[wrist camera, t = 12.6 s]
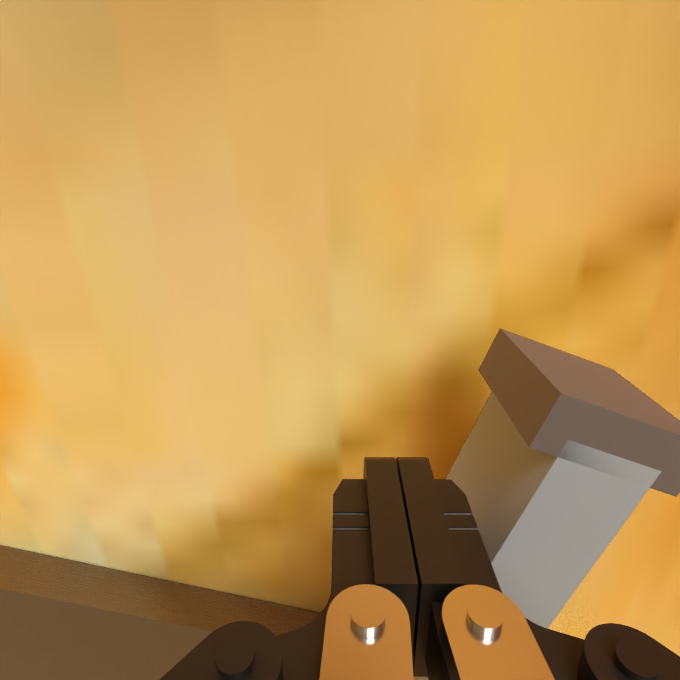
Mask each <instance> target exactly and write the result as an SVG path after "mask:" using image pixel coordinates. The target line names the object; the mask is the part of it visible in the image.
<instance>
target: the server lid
mask: <svg viewBox="0 0 680 680" xmlns="http://www.w3.org/2000/svg"><path fill="white" fill-rule="evenodd" d="M320 614H321V613H319V612H314V611H309V610H304V609H300V608H295V607H290V606H285V605H281V604H276V603H271V602H266V601H262V600H257V599H252V598H247V597H243V596H238V595H233V594H228V593H224V592H219V591H214V590H209V589H205V588H200V587H195V586H190V585H186V584H181V583H176V582H171V581H167V580H162V579H157V578H152V577H148V576H143V575H138V574H133V573H129V572H124V571H119V570H114V569H110V568H105V567H100V566H95V565H91V564H86V563H81V562H76V561H72V560H67V559H62V558H57V557H53V556H48V555H43V554H38V553H34V552H29V551H24V550H19V549H15V548H10V547H5V546H0V680H159V679H161V678H162V677H163V676H164V675H165V674H166V673H167V672H168V671H169V670H170V669H172V668H173V667H174V666H175V665H176V664H177V663H178V662H179V661H180V660H182V659H183V658H184V657H185V656H186V655H187V654H188V653H189V652H190V651H191V650H193V649H194V648H195V647H196V646H197V645H198V644H199V643H200V642H201V641H202V640H204V639H205V638H206V637H207V636H208V635H209V634H211V633H212V632H213V631H214V630H216V629H218V628H220V627H221V626H224V625H226V624H228V623H232V622H237V621H252V622H256V623H259V624H262V625H264V626H265V627H267V628H268V629H270V630H271V631H272V632H273V633H274V635H275V636H277V635H280V634H283V633H286V632H289V631H293V630H296V629H298V628H301V627H303V626H305V625H307V624H308V623H310V622H312V621H313V620H314V619H315V618H317V617H318V616H319V615H320Z"/></svg>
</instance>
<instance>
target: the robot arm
mask: <svg viewBox="0 0 680 680" xmlns="http://www.w3.org/2000/svg"><path fill="white" fill-rule="evenodd" d="M414 677H428V680H680V657H679V656H678V655H676V654H675V653H673V652H672V651H671V650H669V649H668V648H666V647H665V646H663V645H662V644H660V643H659V642H657V641H656V640H654V639H653V638H651V637H650V636H648V635H646V634H645V633H643V632H641V631H639V630H637V629H634V628H631V627H629V626H625V625H621V624H613V623H609V624H602V625H598V626H596V627H594V628H593V629H591V630H590V631H589V632H588V634H587V636H586V638H585V640H583V639H580V638H577V637H573V636H570V635H567V634H563V633H560V632H556V631H553V630H550V629H547V628H544V627H541V626H539V625H537V624H535V623H533V622H532V621H530V620H528V619H527V618H525V617H524V615H523V613H522V612H521V610H520V609H519V608H518V606H517V605H516V604H515V603H514V602H513V601H512V600H511V599H510V598H508V597H507V596H506V595H504V594H503V593H502V591H501V589H500V586H499V583H498V581H497V578H496V575H495V573H494V570H493V567H492V564H491V562H490V559H489V556H488V554H487V551H486V548H485V546H484V543H483V540H482V537H481V535H480V532H479V531H478V527H477V524H476V521H475V518H474V516H472V510H471V508H470V505H469V502H468V500H467V497H466V494H465V493H464V492H463V491H462V490H461V489H460V488H459V487H458V486H457V485H456V484H455V483H454V482H453V481H452V480H451V479H434V477H433V473H432V470H431V466H430V463H429V460H428V458H427V457H397V458H396V459H395V458H394V457H365V458H364V479H343V480H342V481H341V483H340V485H339V486H338V488H337V489H336V491H335V493H334V494H333V543H332V588H331V595H330V599H329V601H328V603H327V605H326V607H325V608H324V610H323V611H322V613H321V614H320V615H319V616H318V617H317V618H315V619H314V620H313V621H312V622H310V623H308V624H307V625H305V626H303V627H301V628H298V629H296V630H293V631H289V632H286V633H283V634H280V635H277V636H275V635H274V633H273V632H272V631H271V630H270V629H268V628H267V627H265V626H264V625H262V624H259V623H256V622H252V621H237V622H232V623H228V624H226V625H224V626H221V627H220V628H218V629H216V630H214V631H213V632H212V633H211V634H209V635H208V636H207V637H206V638H205V639H204V640H202V641H201V642H200V643H199V644H198V645H197V646H196V647H195V648H194V649H193V650H191V651H190V652H189V653H188V654H187V655H186V656H185V657H184V658H183V659H182V660H180V661H179V662H178V663H177V664H176V665H175V666H174V667H173V668H172V669H170V670H169V671H168V672H167V673H166V674H165V675H164V676H163V677H162V678H161V679H159V680H414Z"/></svg>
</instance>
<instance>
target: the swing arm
mask: <svg viewBox="0 0 680 680" xmlns="http://www.w3.org/2000/svg"><path fill="white" fill-rule="evenodd" d="M479 372H480V373H481V375H482V376H483V378H484V379H485V381H486V382H487V384H488V385H489V387H490V388H491V390H492V393H491V395H490V396H489V398H488V400H487V402H486V404H485V406H484V408H483V409H482V411H481V413H480V415H479V417H478V419H477V421H476V423H475V424H474V426H473V428H472V430H471V432H470V434H469V436H468V438H467V439H466V441H465V443H464V445H463V447H462V449H461V451H460V452H459V454H458V456H457V458H456V460H455V462H454V464H453V466H452V467H451V469H450V471H449V473H448V475H447V477H446V479H451V480H452V481H453V482H454V483H455V484H456V485H457V486H458V487H459V488H460V489H461V490H462V491H463V492H464V493H465V494H466V497H467V500H468V502H469V505H470V508H471V510H472V516H474V518H475V521H476V524H477V527H478V531H479V532H480V535H481V537H482V540H483V543H484V546H485V548H486V551H487V554H488V556H489V559H490V562H491V564H492V567H493V570H494V573H495V575H496V578H497V581H498V583H499V586H500V589H501V591H502V593H503V594H504V595H506V596H507V597H508V598H510V599H511V600H512V601H513V602H514V603H515V604H516V605H517V606H518V608H519V609H520V610H521V612H522V613H523V615H524V617H525V618H527V619H528V620H530V621H532V622H533V623H535V624H537V625H539V626H541V627H544V628H547V629H548V627H549V626H550V625H551V623H552V622H553V620H554V619H555V618H556V616H557V615H558V614H559V612H560V611H561V609H562V608H563V607H564V605H565V604H566V603H567V601H568V600H569V598H570V597H571V596H572V594H573V593H574V591H575V590H576V589H577V587H578V586H579V585H580V583H581V582H582V580H583V579H584V578H585V576H586V575H587V574H588V572H589V571H590V569H591V568H592V567H593V565H594V564H595V563H596V561H597V560H598V558H599V557H600V556H601V554H602V553H603V552H604V550H605V549H606V547H607V546H608V545H609V543H610V542H611V540H612V539H613V538H614V536H615V535H616V534H617V532H618V531H619V529H620V528H621V527H622V525H623V524H624V523H625V521H626V520H627V518H628V517H629V516H630V514H631V513H632V512H633V510H634V509H635V507H636V506H637V505H638V503H639V502H640V501H641V499H642V498H643V496H644V495H645V494H646V492H647V491H648V489H649V488H652V489H655V490H658V491H661V492H664V493H667V494H670V495H673V496H676V497H677V495H678V494H679V493H680V420H678V419H677V418H676V417H674V416H673V415H672V414H671V413H669V412H668V411H667V410H665V409H664V408H663V407H661V406H660V405H659V404H658V403H656V402H655V401H654V400H652V399H651V398H650V397H648V396H647V395H646V394H645V393H643V392H642V391H641V390H639V389H638V388H637V387H635V386H634V385H633V384H631V383H630V382H629V381H628V380H626V379H625V378H624V377H622V376H621V375H620V374H618V373H617V372H616V371H615V370H613V369H611V368H608V367H605V366H602V365H600V364H597V363H594V362H591V361H589V360H586V359H583V358H580V357H578V356H575V355H572V354H569V353H567V352H564V351H561V350H558V349H555V348H553V347H550V346H547V345H544V344H542V343H539V342H536V341H533V340H531V339H528V338H525V337H522V336H520V335H517V334H514V333H511V332H509V331H506V330H503V329H499V331H498V333H497V335H496V337H495V339H494V341H493V343H492V345H491V347H490V349H489V351H488V353H487V354H486V356H485V358H484V360H483V362H482V364H481V366H480V368H479ZM414 680H428V677H414Z"/></svg>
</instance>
